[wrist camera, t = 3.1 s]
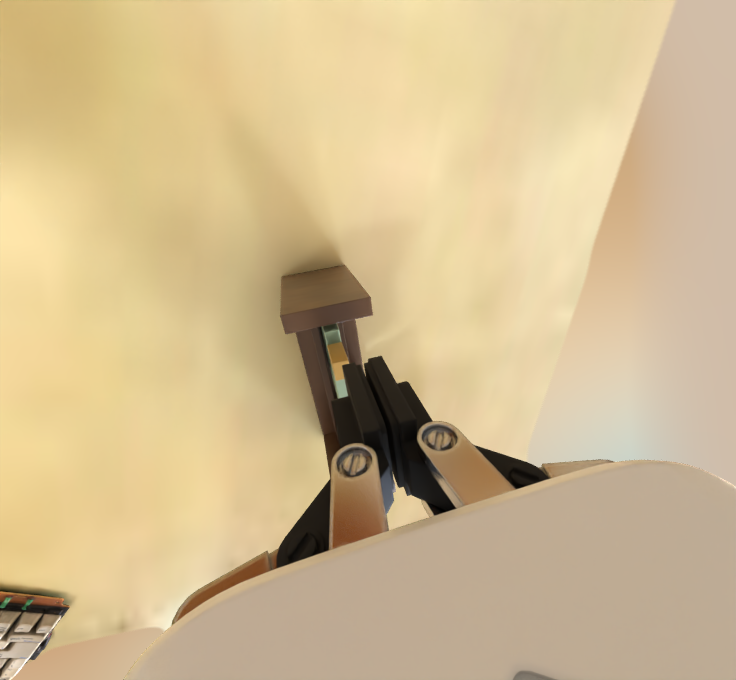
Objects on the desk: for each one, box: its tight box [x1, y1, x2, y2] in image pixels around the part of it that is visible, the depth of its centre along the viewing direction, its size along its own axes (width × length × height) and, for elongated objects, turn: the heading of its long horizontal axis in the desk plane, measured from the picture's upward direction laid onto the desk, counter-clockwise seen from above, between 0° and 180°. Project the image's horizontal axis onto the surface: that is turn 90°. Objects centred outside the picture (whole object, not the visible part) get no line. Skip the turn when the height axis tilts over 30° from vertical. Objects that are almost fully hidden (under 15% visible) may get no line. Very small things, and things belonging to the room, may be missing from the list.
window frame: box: [280, 265, 396, 493], centre depth 33 cm, size 7×24×12 cm, turn 7°
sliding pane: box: [321, 323, 349, 398], centre depth 29 cm, size 1×10×13 cm, turn 7°
